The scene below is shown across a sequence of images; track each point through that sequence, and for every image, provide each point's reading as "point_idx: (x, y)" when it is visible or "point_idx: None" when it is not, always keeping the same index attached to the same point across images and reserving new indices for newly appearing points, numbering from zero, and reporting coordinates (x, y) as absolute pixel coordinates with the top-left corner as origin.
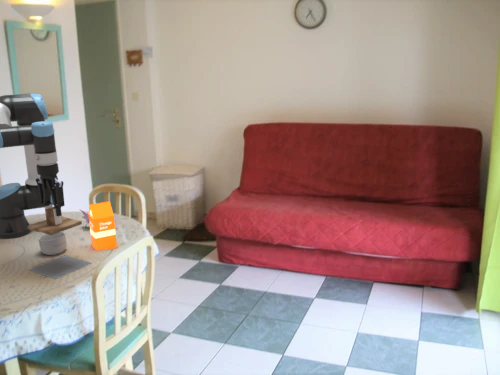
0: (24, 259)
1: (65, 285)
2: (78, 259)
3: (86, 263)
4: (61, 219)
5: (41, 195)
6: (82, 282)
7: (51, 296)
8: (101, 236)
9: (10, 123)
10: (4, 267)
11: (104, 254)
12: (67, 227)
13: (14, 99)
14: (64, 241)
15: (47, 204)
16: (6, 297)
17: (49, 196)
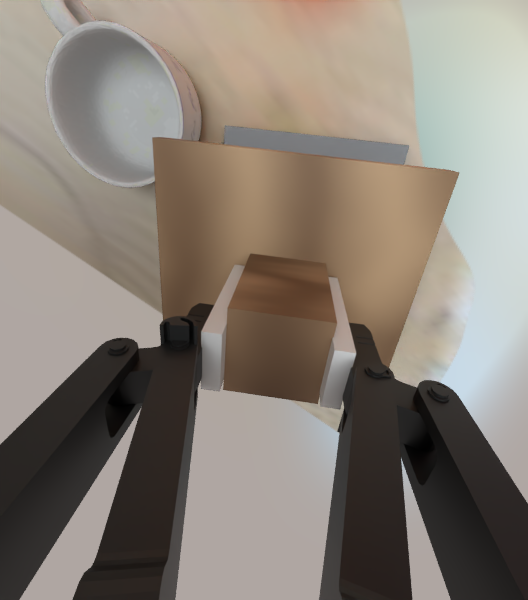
0: (118, 219)
1: (415, 319)
2: (322, 140)
3: (385, 160)
4: (340, 292)
5: (94, 471)
6: (460, 286)
7: (419, 376)
8: None
9: None
10: (129, 291)
11: (394, 4)
12: (409, 299)
13: None
14: (186, 88)
15: (198, 376)
16: (307, 407)
17: (188, 432)
